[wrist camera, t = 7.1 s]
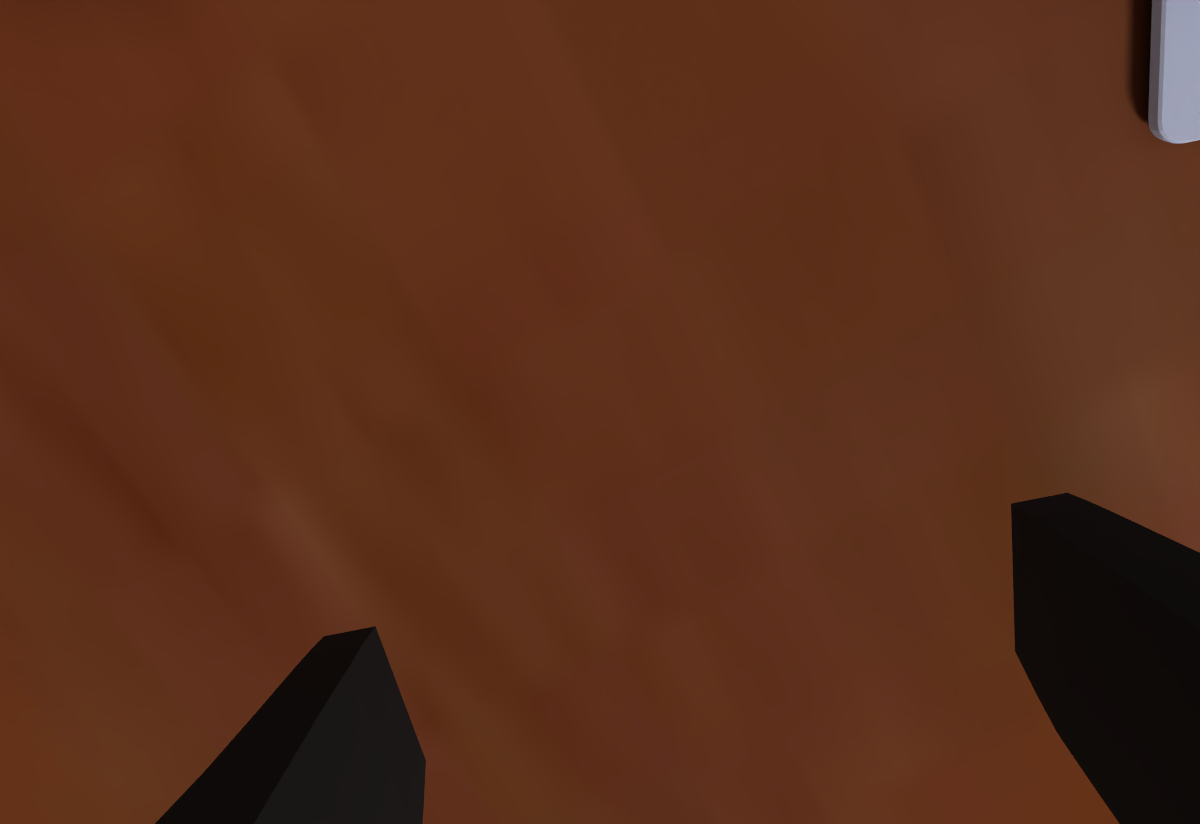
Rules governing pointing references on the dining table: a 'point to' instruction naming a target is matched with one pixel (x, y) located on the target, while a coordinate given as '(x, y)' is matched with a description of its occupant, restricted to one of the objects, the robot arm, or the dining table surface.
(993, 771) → the dining table surface
